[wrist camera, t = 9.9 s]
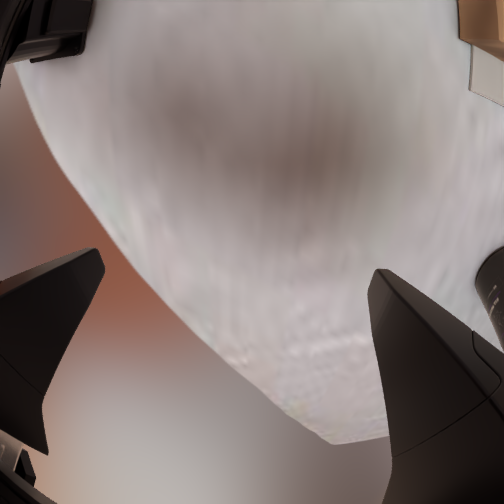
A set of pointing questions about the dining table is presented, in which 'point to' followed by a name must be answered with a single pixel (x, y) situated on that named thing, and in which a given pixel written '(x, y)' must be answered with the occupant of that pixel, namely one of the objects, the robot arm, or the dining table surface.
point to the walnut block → (483, 25)
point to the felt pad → (487, 75)
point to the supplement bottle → (493, 291)
